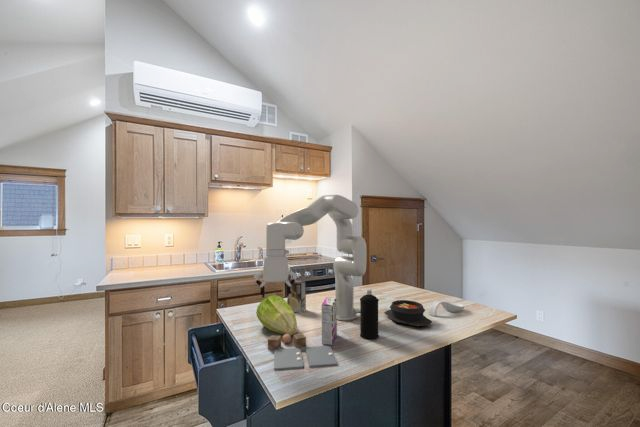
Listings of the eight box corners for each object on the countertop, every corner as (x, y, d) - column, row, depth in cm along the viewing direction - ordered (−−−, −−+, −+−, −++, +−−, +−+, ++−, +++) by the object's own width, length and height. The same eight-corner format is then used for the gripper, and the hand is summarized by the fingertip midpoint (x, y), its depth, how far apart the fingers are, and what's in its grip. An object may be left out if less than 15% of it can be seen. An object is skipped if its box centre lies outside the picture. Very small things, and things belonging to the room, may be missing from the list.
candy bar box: (325, 333, 125) (326, 296, 125) (337, 334, 124) (337, 297, 124) (321, 344, 114) (321, 304, 114) (333, 345, 113) (333, 305, 113)
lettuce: (305, 342, 127) (273, 356, 118) (281, 310, 146) (252, 320, 137) (308, 316, 122) (275, 328, 113) (282, 286, 141) (252, 295, 132)
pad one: (330, 347, 112) (330, 345, 112) (337, 365, 98) (337, 362, 98) (305, 348, 110) (305, 346, 110) (309, 367, 97) (309, 365, 97)
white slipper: (449, 306, 166) (449, 294, 166) (468, 311, 156) (468, 298, 156) (423, 313, 153) (423, 300, 153) (442, 319, 143) (442, 305, 143)
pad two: (300, 349, 110) (300, 347, 110) (303, 367, 96) (303, 365, 96) (274, 351, 109) (274, 348, 109) (274, 370, 95) (274, 367, 95)
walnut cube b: (280, 346, 113) (280, 336, 113) (277, 350, 109) (277, 340, 109) (271, 345, 114) (271, 335, 114) (267, 349, 110) (267, 339, 110)
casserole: (440, 325, 136) (440, 307, 136) (415, 333, 126) (415, 314, 126) (400, 310, 157) (400, 295, 157) (376, 316, 147) (376, 300, 147)
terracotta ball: (290, 340, 118) (290, 332, 118) (291, 344, 114) (291, 335, 114) (282, 341, 117) (282, 332, 117) (282, 345, 114) (282, 336, 114)
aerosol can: (374, 341, 117) (374, 293, 118) (356, 337, 122) (356, 290, 122) (381, 334, 124) (381, 289, 125) (364, 330, 129) (364, 286, 129)
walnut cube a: (302, 343, 116) (302, 333, 116) (305, 347, 112) (305, 337, 112) (293, 344, 114) (293, 335, 114) (296, 349, 111) (296, 338, 111)
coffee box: (306, 309, 158) (306, 281, 159) (301, 313, 152) (301, 283, 153) (291, 307, 162) (291, 279, 162) (286, 311, 156) (286, 282, 156)
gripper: (296, 251, 117) (296, 292, 117) (254, 252, 115) (254, 294, 115) (298, 254, 110) (297, 297, 110) (252, 254, 107) (252, 299, 107)
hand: (275, 296), depth 112 cm, fingers open, 9 cm apart
